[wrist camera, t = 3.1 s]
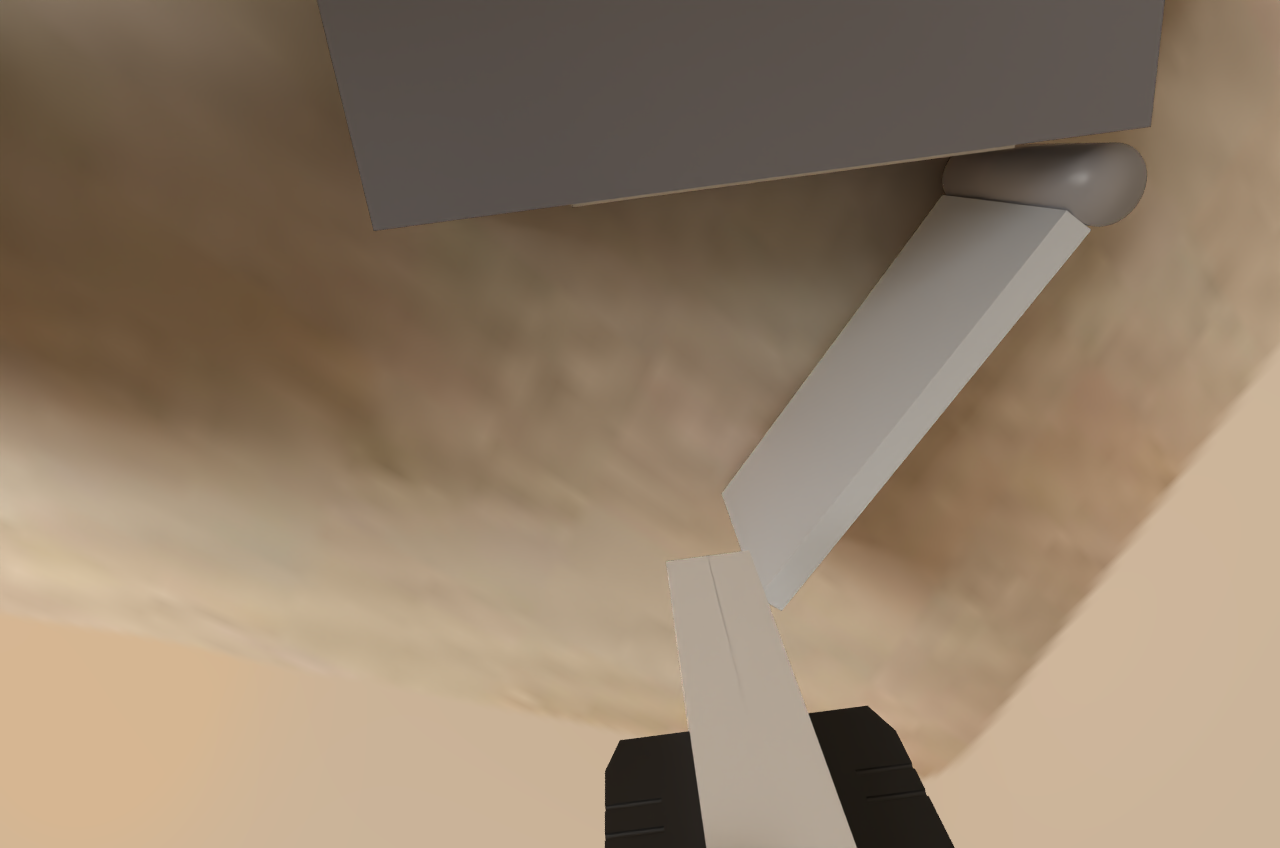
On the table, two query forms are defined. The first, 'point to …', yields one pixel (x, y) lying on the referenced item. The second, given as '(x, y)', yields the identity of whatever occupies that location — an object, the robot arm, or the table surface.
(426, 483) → the table surface
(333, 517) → the table surface
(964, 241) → the side door
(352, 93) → the camera body
